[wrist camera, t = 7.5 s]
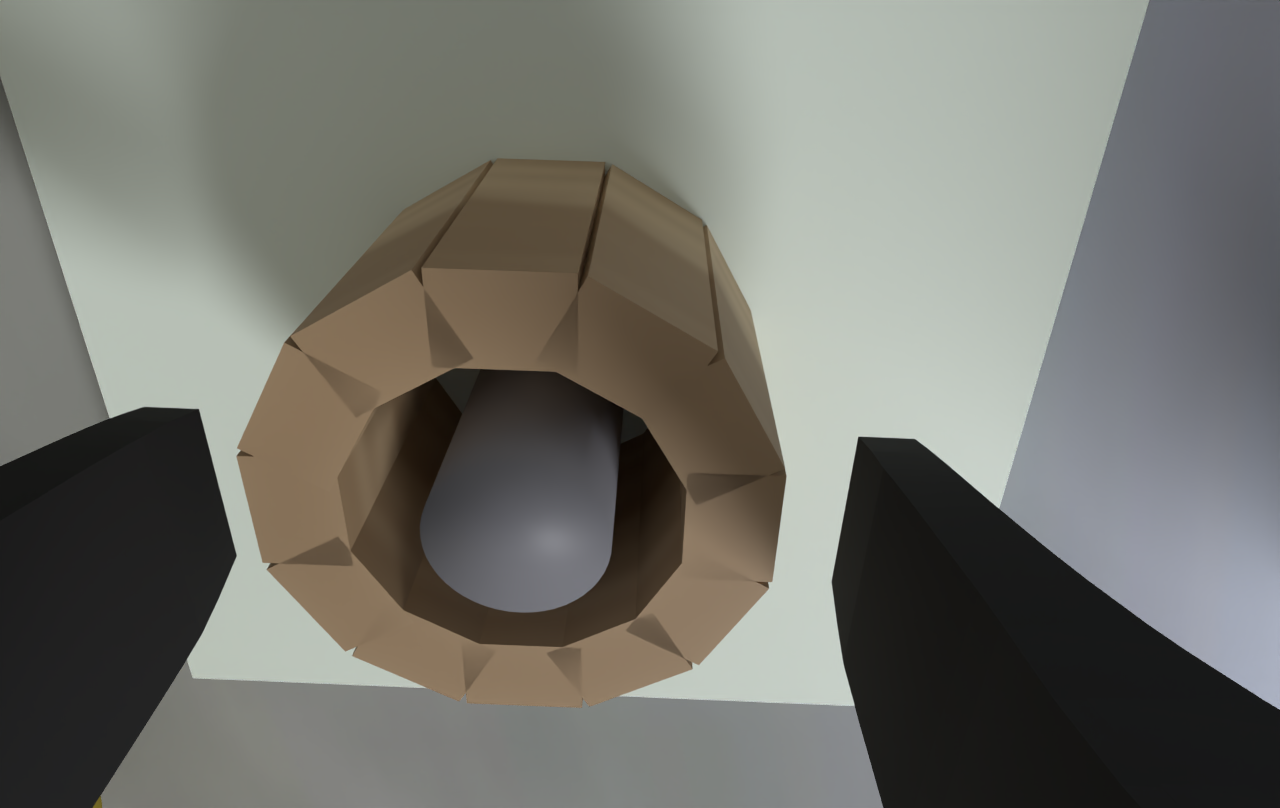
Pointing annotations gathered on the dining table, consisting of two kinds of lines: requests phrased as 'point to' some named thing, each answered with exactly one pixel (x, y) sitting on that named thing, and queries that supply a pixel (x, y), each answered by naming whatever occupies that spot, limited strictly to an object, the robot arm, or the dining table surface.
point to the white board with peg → (615, 134)
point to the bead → (529, 341)
